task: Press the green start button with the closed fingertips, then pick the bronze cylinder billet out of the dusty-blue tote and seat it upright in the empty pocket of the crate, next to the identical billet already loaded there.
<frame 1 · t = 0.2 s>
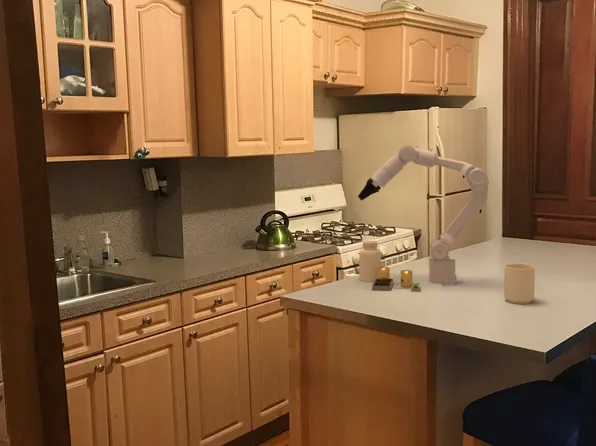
hand: (360, 197, 230), 31 cm above the counter, tool tilted 45°, fingers open, 7 cm apart
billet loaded: (384, 284, 225), point 1 cm above the counter, touching crate
mug: (519, 300, 202), on the counter
start button: (415, 286, 214), point 2 cm above the counter, slide at 0.0 cm
crate: (383, 289, 222), on the counter
tote: (406, 289, 221), on the counter
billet: (406, 288, 221), resting on tote
pill bottle: (370, 282, 234), on the counter
button housing: (416, 293, 214), on the counter
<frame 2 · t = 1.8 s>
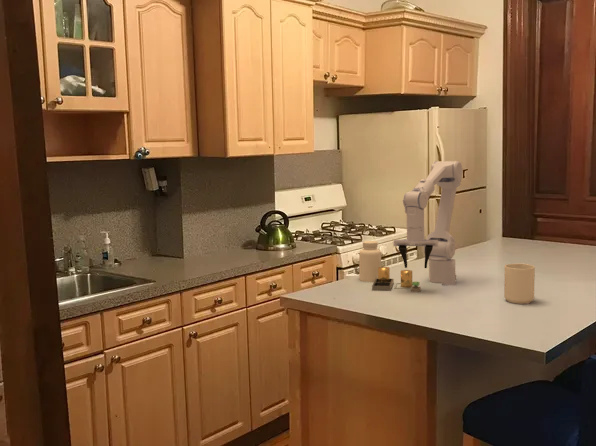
hand: (415, 267, 213), 9 cm above the counter, tool pointing down, fingers open, 6 cm apart
nothing on the counter moved.
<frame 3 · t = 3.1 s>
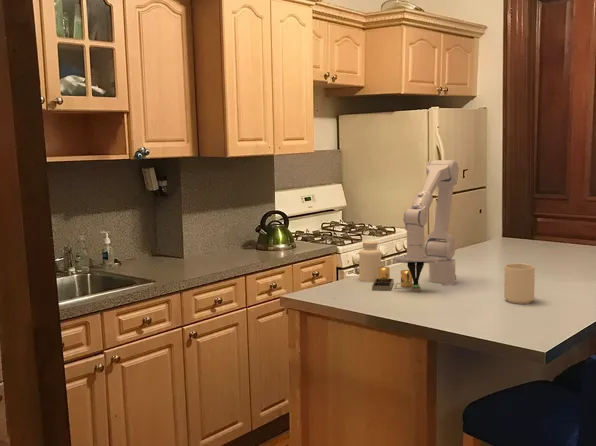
hand: (415, 284, 214), 3 cm above the counter, tool pointing down, fingers closed, pressing on start button
start button: (415, 288, 214), point 2 cm above the counter, slide at 0.6 cm, touching gripper
everything else where it was.
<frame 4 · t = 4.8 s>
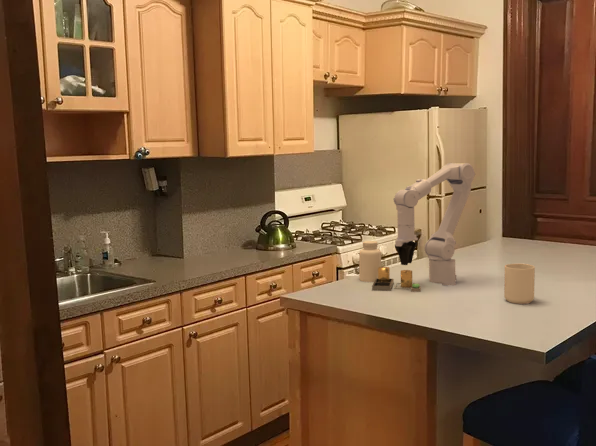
hand: (406, 263, 220), 9 cm above the counter, tool pointing down, fingers open, 3 cm apart
start button: (415, 288, 214), point 2 cm above the counter, slide at 0.6 cm
everything else where it was.
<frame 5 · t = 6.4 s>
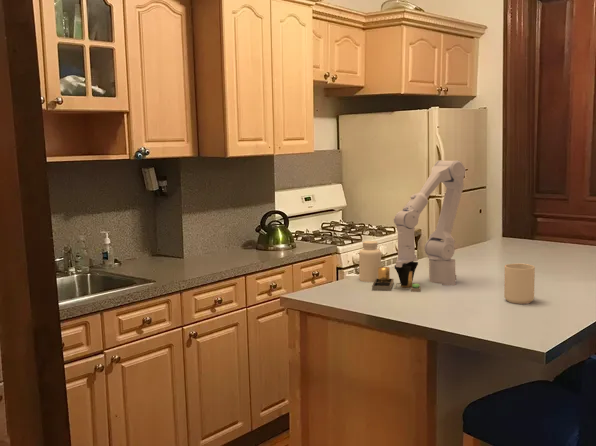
hand: (406, 284, 221), 2 cm above the counter, tool pointing down, fingers closed on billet, 4 cm apart
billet: (406, 288, 221), resting on tote, touching gripper
everything else where it was.
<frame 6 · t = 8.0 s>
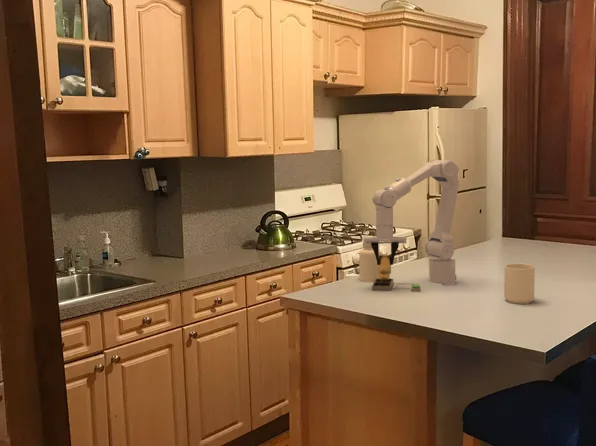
hand: (385, 264, 218), 9 cm above the counter, tool pointing down, fingers closed on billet, 4 cm apart
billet: (385, 272, 218), point 6 cm above the counter, touching gripper
everything else where it was.
when the fingers open (3 cm above the counter, at t = 9.7 s): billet stays where it is, resting on crate.
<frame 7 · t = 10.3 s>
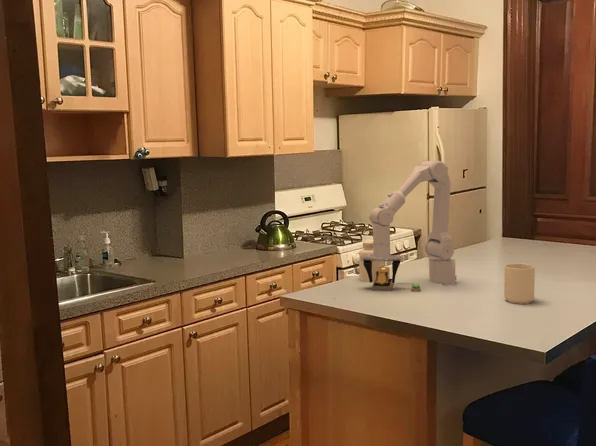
hand: (382, 282, 219), 3 cm above the counter, tool pointing down, fingers open, 7 cm apart
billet: (382, 288, 219), point 1 cm above the counter, touching crate
everything else where it was.
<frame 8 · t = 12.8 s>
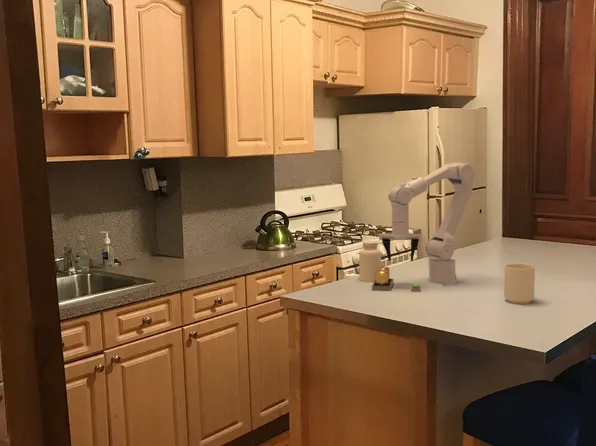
hand: (400, 260, 221), 10 cm above the counter, tool pointing down, fingers open, 7 cm apart
nothing on the counter moved.
at the end: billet 0.2 cm from the target spot on the crate, point 1.0 cm above the crate's base; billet tilted 0°; start button slide at 0.6 cm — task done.
